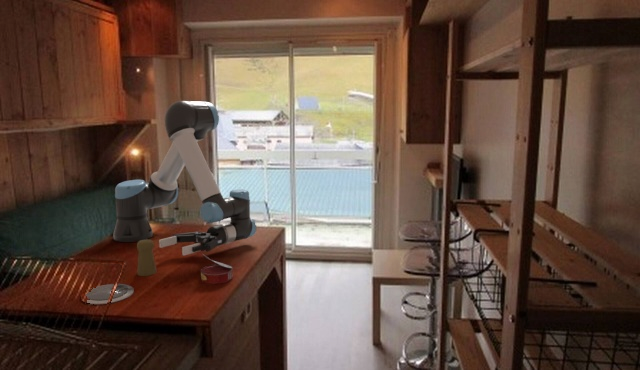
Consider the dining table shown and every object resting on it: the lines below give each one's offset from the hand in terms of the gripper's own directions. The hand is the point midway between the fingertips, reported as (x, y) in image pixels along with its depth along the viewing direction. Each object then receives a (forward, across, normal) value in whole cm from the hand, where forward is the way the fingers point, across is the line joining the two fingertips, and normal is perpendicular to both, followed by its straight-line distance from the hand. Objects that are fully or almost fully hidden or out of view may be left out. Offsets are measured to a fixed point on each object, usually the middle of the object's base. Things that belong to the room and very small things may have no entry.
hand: (170, 247), depth 158 cm
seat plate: (+26, -8, -6) cm, 28 cm away
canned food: (-3, -21, -7) cm, 22 cm away
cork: (+9, 0, -7) cm, 11 cm away
